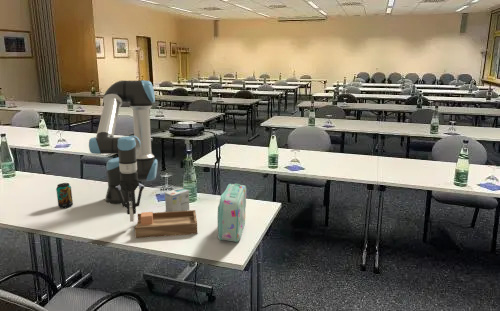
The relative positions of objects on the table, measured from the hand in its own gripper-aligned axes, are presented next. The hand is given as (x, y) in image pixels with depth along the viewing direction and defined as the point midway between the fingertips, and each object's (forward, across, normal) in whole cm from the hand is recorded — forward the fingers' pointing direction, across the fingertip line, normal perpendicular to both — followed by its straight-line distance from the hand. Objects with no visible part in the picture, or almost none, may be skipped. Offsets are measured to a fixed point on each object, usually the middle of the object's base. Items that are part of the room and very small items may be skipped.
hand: (132, 220), depth 184 cm
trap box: (+4, +16, -3) cm, 16 cm away
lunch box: (+4, +45, -11) cm, 47 cm away
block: (+1, +7, 0) cm, 7 cm away
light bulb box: (+4, +21, +18) cm, 28 cm away
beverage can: (+4, -38, +34) cm, 51 cm away
